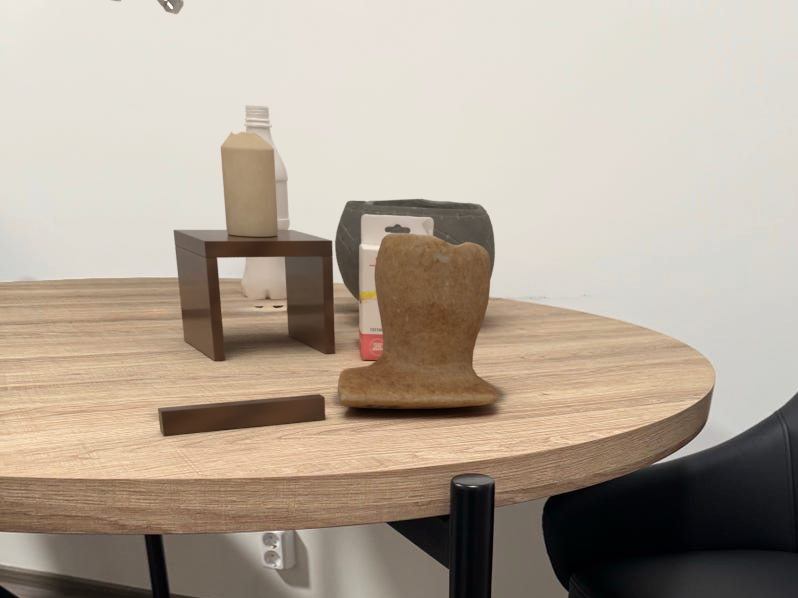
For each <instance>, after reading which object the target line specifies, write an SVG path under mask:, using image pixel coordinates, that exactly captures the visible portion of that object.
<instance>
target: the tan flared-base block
mask: <svg viewBox="0 0 798 598" xmlns="http://www.w3.org/2000/svg"><path fill="white" fill-rule="evenodd" d="M374 277H375V288H376V295H377V302H378V308H379V313H380V319H381V326H382V333H383V352H382V354H381V356H380V357H379V359H378V360H374V362H372V363H371V364H368V365H364V366H356V367H348V368H345V369H342V370H341V372H340V373H339V377H338V380H337V381H338V382H337V393H338V402H339V403H340V405H341V406H342V407H345V408H359V409H379V410H380V409H382V410H383V409H385V410H387V409H390V410H392V409H393V410H431V409H432V410H433V409H450V408H451V409H454V408H463V407H477V406H478V407H479V406H486V405H492V404H494V403H496V402H498V400H499V396H500V395H499V391H498V389H497V388H496V387H495V386H493V384H492V383H489V382H488V381H486V380H485V379H483V378H482V377H481V376H479V375H478V374H477V373H476V371H475V369H474V366H473V361H474V351H475V346H476V342H477V338H478V335H479V333H480V330H481V328H482V325H483V323H484V319H485V316H486V312H487V309H488V304H489V301H490V291H491V279H490V257H489V254H488V252H487V251H486V250H485V249H484V248H483V247H482V246H480V245H478V244H475V243H471V242H465V243H463V244H461V245H452V244H450V243H447V242H444V240H441V239H439V238H437V237H435V236H429V235H417V234H410V233H390V234H387V235H386V236H385V237H384V238H383V239H382V242H381V245H380V248H379V251H378V255H377V260H376V265H375V276H374Z"/></svg>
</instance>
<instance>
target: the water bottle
mask: <svg viewBox="0 0 798 598" xmlns="http://www.w3.org/2000/svg"><path fill="white" fill-rule="evenodd" d="M244 108H245V118H244V120H245V123H243V126H244V127H246V128H245V129H246V130H245V132H247V133H255V134H257V135H258V136H261V137H262V138H263V139H264V140H265V141H267V142H268V143H269V144H270V145H271V146H272V148H273V149H274V162H275V183H276V203H277V224H278V230H289V229H290V225H291V220H290V219H291V218H290V215H289V196H288V180H289V178H288V172H287V168H286V166H285V163H284V161H283V160H282V157H281V155H280V153H279V151H278V149H277V147H276V145H275V143H274V141H273V137H272V133H271V128H272V127H273V126H272V124H271V119H270V113H269V109H270V108H269V106H263V105H262V106H261V105H245V107H244ZM240 287H241V291H242V292H241V293H242V295H243V296H244V297H246V298H248V299H255V300H266V299H269V300H285V299H286V300H287V295H286V274H285V257H245V265H244V271H243V274H242V278H241V281H240ZM284 306H285V305H272V307H273V308H275V309H280V308H283V307H284ZM254 308H257V309H258V308H259V309H261V308H264V305H260V306H259V305H257V306H254Z"/></svg>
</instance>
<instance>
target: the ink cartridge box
mask: <svg viewBox="0 0 798 598" xmlns="http://www.w3.org/2000/svg"><path fill="white" fill-rule="evenodd" d="M396 224H399V225H400V226H401V227H407V228H409V229H410V234H417V235H429V236H433V228H434V221H433V219H432V218H430V217H411V216H392V215H368V214H364V215H362V217H361V244H360V245H359V301H358V349H359V353H360V356H361V359H362V360H363V361H366V360H367V361H368V360H369V361H377V360H378V359H379V357H380V356H381V354H382V352H383V333H382V326H381V319H380V313H379V308H378V302H377V295H376V288H375V277H374V276H375V265H376V260H377V255H378V251H379V248H380V245H381V242H382V239H383V238H384V237H385V236H386V235H387V234H390V233H387V232H385V228H386V227H393V226H395V225H396Z"/></svg>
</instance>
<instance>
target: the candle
mask: <svg viewBox="0 0 798 598" xmlns="http://www.w3.org/2000/svg"><path fill="white" fill-rule="evenodd" d="M220 145H221V146H220V156H221V171H222V184H223V199H224V213H225V225H226V230H227V233H228V234H230V235H235V236H246V237H271V236H277V234H278V224H277V203H276V183H275V162H274V149H273V148H272V146H271V145H270V144H269V143H268V142H267V141H265V140H264V139H263V138H262V137H261V136H258V135H257V134H255V133H247V132H246V131H240V132H237V133H236V134H235V133H234V132H232V131H230V133H229V135H228V136H227V137H226V139H225V140H224V142H223V143H222V144H220Z"/></svg>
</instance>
